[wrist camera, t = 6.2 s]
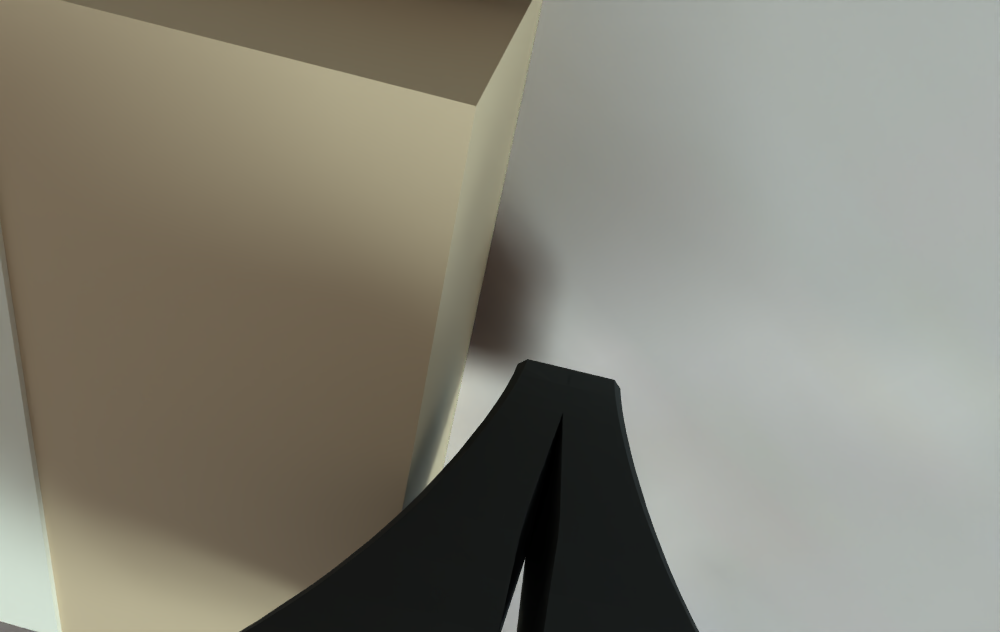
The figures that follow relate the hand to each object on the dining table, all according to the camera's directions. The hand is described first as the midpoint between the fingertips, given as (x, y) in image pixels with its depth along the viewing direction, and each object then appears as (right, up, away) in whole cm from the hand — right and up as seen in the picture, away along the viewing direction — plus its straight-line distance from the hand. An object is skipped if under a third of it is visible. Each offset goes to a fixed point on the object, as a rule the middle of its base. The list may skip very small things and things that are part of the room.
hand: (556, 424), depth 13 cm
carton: (-6, +4, +1) cm, 7 cm away
